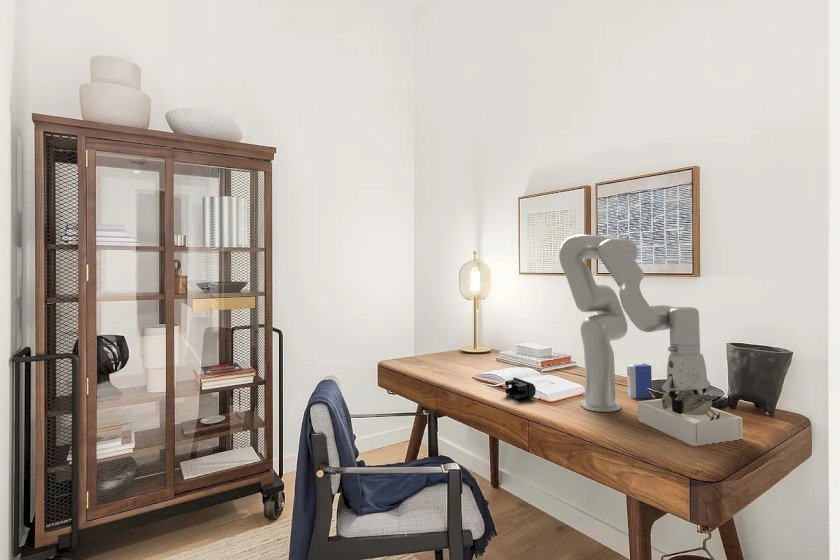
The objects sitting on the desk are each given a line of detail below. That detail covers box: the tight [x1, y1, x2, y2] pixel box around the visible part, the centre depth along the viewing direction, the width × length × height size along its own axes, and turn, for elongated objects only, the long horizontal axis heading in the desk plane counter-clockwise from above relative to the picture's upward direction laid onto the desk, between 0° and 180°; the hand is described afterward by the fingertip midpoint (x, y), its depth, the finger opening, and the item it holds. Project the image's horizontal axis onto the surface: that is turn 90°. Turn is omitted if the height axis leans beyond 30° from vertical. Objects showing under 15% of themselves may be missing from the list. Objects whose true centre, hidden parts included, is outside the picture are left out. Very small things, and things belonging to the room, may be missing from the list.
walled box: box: [637, 398, 744, 447], centre depth 132 cm, size 22×16×6 cm
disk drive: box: [711, 396, 729, 409], centre depth 155 cm, size 10×3×15 cm
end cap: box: [504, 377, 537, 403], centre depth 170 cm, size 10×7×7 cm
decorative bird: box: [661, 391, 721, 420], centre depth 131 cm, size 5×16×8 cm, turn 28°
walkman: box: [626, 363, 653, 399], centre depth 166 cm, size 8×3×12 cm, turn 90°
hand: (687, 410), depth 132 cm, fingers closed on decorative bird, 5 cm apart
